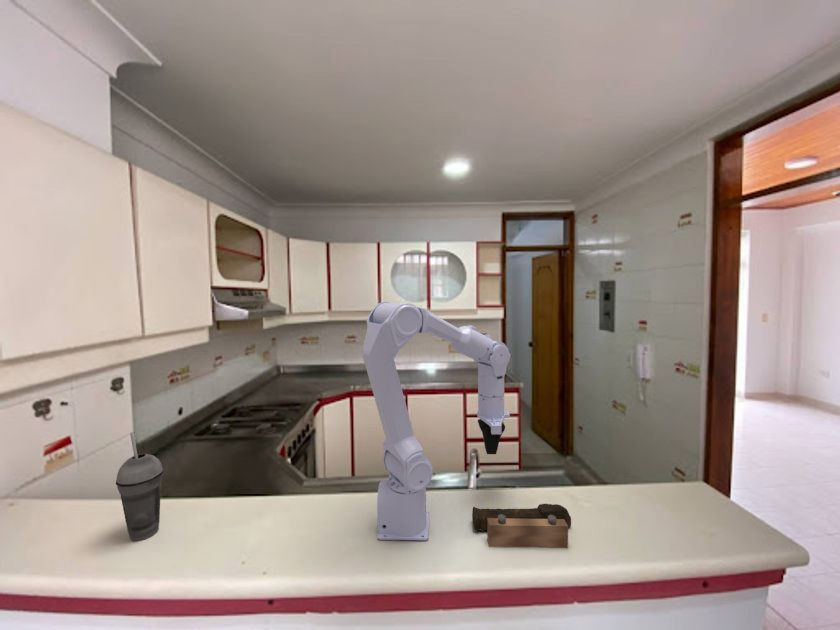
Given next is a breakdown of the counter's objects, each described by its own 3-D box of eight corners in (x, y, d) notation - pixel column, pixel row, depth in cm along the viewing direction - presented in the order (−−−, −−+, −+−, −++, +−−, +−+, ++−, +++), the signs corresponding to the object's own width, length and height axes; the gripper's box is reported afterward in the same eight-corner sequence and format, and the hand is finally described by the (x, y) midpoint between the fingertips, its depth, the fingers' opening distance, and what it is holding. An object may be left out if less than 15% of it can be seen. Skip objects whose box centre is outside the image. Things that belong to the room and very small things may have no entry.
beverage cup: (143, 548, 65) (135, 442, 64) (109, 544, 67) (101, 439, 65) (176, 523, 72) (170, 426, 71) (145, 519, 74) (138, 424, 72)
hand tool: (473, 535, 68) (473, 512, 68) (471, 522, 72) (471, 499, 72) (575, 539, 67) (576, 515, 66) (568, 524, 71) (568, 502, 70)
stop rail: (488, 546, 65) (488, 519, 64) (487, 538, 67) (487, 513, 66) (567, 547, 64) (568, 520, 64) (563, 539, 66) (564, 513, 66)
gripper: (516, 404, 72) (516, 469, 73) (503, 384, 87) (502, 439, 88) (481, 404, 73) (481, 468, 74) (473, 385, 87) (473, 439, 88)
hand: (491, 452), depth 81 cm, fingers closed
